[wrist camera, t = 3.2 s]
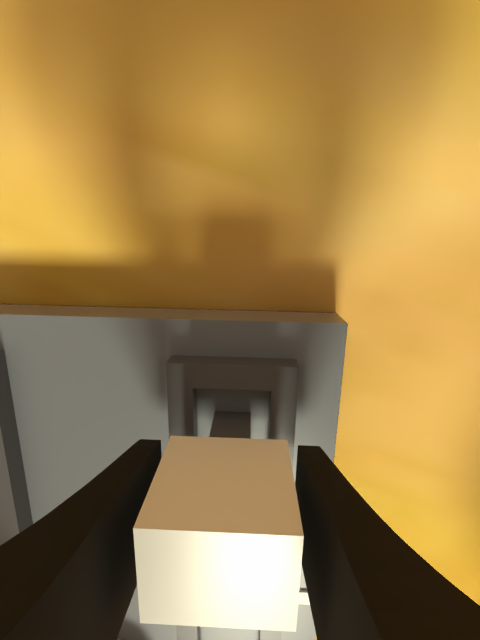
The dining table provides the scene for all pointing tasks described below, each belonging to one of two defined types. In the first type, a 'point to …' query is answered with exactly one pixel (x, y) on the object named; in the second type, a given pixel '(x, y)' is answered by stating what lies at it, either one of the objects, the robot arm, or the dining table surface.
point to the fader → (221, 532)
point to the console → (155, 403)
